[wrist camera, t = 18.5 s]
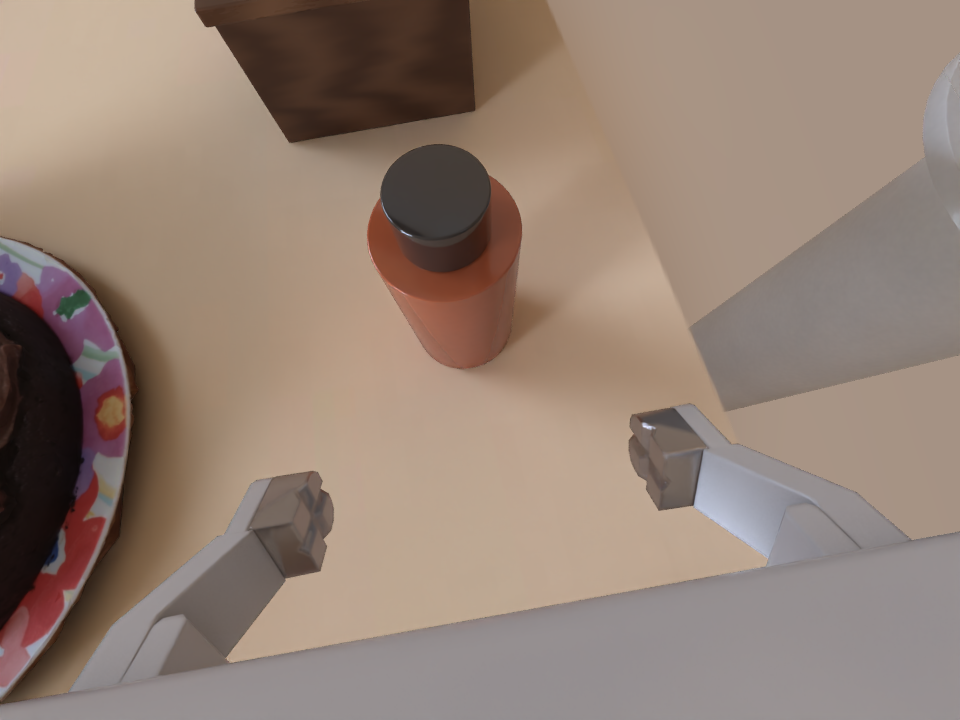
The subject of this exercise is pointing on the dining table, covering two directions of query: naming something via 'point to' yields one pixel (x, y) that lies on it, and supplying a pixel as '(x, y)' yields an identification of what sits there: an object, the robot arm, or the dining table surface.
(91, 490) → the chocolate cake
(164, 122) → the dining table surface
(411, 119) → the dark brown wooden box
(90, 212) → the dining table surface
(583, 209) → the dining table surface
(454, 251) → the orange bottle
